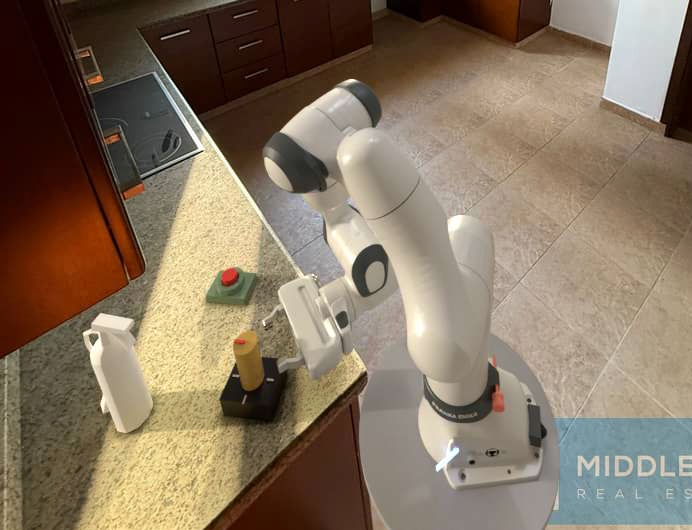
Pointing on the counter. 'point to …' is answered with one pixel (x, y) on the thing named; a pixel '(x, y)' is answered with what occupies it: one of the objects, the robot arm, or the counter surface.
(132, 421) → the white plastic jug
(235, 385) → the black block
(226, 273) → the button
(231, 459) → the counter surface
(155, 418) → the counter surface
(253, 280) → the button box
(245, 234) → the counter surface
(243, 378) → the yellow cylinder
